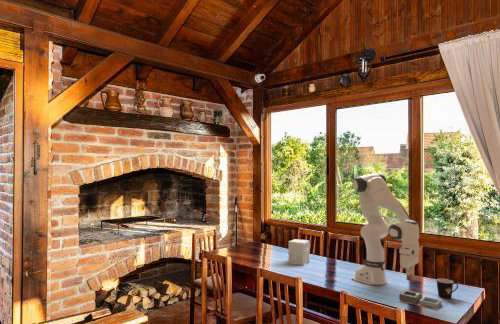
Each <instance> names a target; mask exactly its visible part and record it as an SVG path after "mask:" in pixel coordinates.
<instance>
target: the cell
mask: <svg viewBox="0 0 500 324" xmlns="http://www.w3.org/2000/svg"><path fill="white" fill-rule="evenodd" d="M406 281H409V282H414V281H415V267H414V266H411V267H410V275H407V274H406Z"/></svg>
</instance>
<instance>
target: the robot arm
mask: <svg viewBox="0 0 500 324" xmlns="http://www.w3.org/2000/svg"><path fill="white" fill-rule="evenodd" d="M352 187H353V189H354V191H356V192H357V193H358V199H359V205H360V210H361V214H362V216H363V217H364V218H365V220H366V221H367V224H365V225H364V226H362V227H361V229H360V235H361V238H362V239H363V241H364V244H365V248H366V259H364V260H363V265H361V266H359V267H358V268H357V269H356V270H355V274H354V275H352V276H351V280H352V279H353V281H357V282H359V283H363V284H366V285H370V286H373V285H374V286H375V285H379V286H380V285H381V286H382V285H386V284H387V283H388V282H387V278H386V277H387V276H386V271H385V270H386V260H385V248H384V247H383V245H382V242H381V239H384V238H386V237H387V236H388V235H389V237H390V239H391V240H393V241H394V240H395V241H401V247H400V248H399V250H398V251H399V252H398V253H399V264H400V268H401V269H405V273H406V274H407V275H410V267H411V266H414V268H415V266H416V265H417V264H418V263H419V262H420V242H419V240H420V228H419V223H418V222H417V221H415V220H413V219H412V218H411V217H410V215H409V214H408V212H407V211H406V209H405V207H404V206H403V205H402V203H401V202H400V200H398V199H397V198H396V197H395V195H394V194H393V192H392V191H391V189H390V187H389V186H388V184H387V178H386V176H385V175H384V174H383V173H370V174H369V173H368V174H365V175H361V176H357V177H354V179H353V180H352ZM379 207H380V208H382V209H386V210H389V211H391V212H393V213H394V214H395V215H396V217H397V219H398V220H399V222H398V223H393V224H390V225H388V224H387V223H386V222H385V221H384V219H383V216H382V214H381V212H380V208H379Z"/></svg>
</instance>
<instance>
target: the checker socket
mask: <svg viewBox="0 0 500 324" xmlns="http://www.w3.org/2000/svg"><path fill="white" fill-rule="evenodd" d="M398 294H399V295H398V297H399V299H398V300H401V301H400V302H402V301H405V302H404V303H406V302H409V303H408V304H410V303H413V304H412V305H414V304H417V303H418V302H420V301H419V300H421V299H422V298H423V297H422V295H423V294H422V293H421V292H416V291H411V290H407V289H405V290H403V291H402V292H400V293H398ZM407 294H408V295H407ZM411 295H412V296H411Z"/></svg>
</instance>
